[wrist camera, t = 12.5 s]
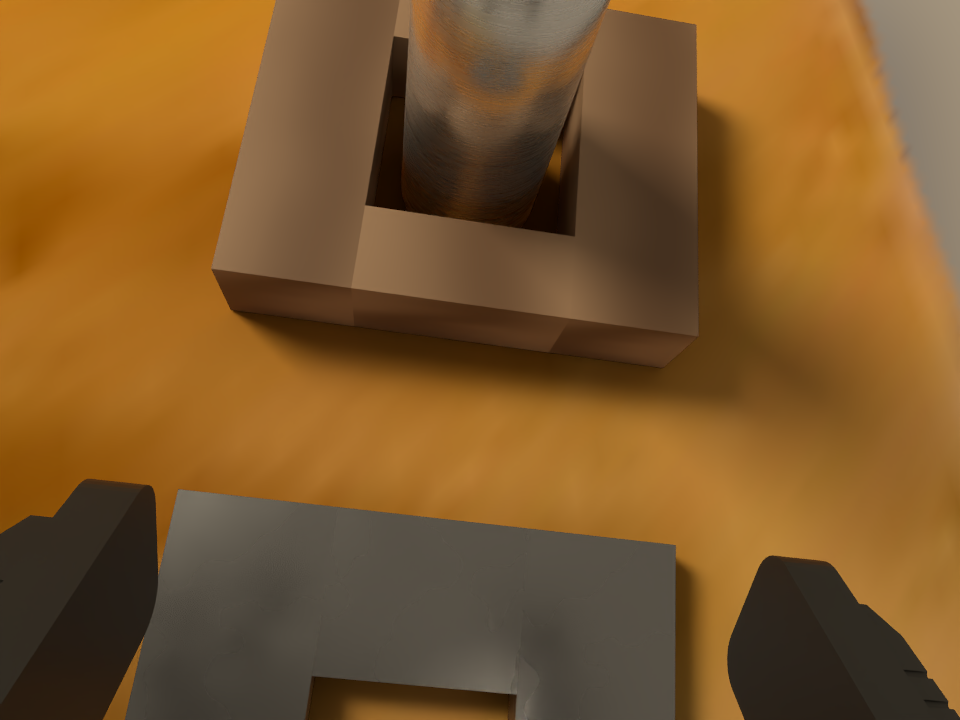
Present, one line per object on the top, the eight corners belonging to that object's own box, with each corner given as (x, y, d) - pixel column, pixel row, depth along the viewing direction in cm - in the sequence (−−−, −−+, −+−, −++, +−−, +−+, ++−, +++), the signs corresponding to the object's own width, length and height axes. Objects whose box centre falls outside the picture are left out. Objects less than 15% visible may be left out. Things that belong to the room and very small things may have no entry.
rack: (230, 310, 20) (211, 268, 18) (296, 18, 23) (287, -49, 21) (662, 368, 21) (699, 336, 19) (665, 81, 24) (696, 24, 22)
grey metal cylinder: (390, 237, 21) (404, -192, 10) (408, 119, 23) (439, -374, 11) (530, 257, 22) (696, -135, 10) (540, 140, 23) (695, -317, 12)
